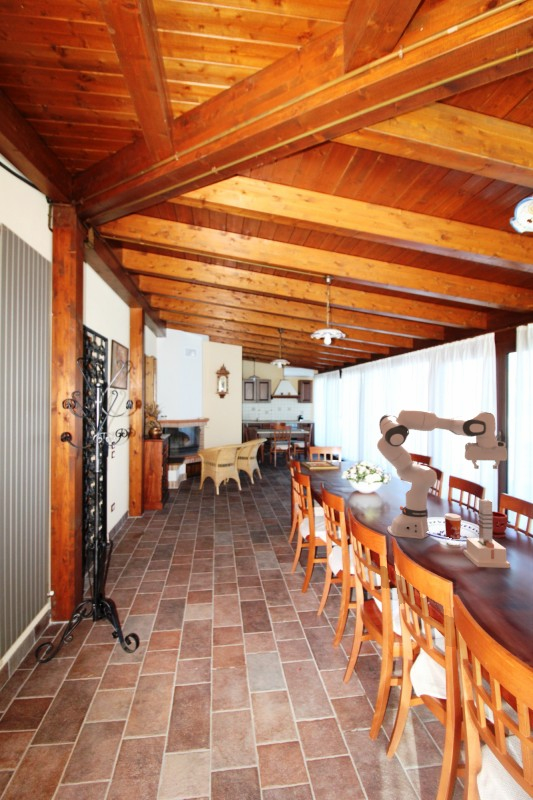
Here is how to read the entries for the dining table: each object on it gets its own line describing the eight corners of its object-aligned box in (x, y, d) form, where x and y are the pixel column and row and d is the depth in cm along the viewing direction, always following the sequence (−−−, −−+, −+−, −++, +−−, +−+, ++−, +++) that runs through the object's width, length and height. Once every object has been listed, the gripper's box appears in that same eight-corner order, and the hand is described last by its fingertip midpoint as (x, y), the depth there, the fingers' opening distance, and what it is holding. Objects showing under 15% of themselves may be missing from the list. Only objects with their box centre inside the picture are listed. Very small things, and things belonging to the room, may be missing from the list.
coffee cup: (455, 548, 185) (454, 518, 185) (440, 542, 192) (440, 514, 192) (465, 545, 189) (465, 516, 189) (451, 539, 196) (450, 512, 196)
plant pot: (512, 540, 195) (512, 517, 195) (485, 538, 198) (485, 516, 198) (501, 531, 208) (501, 510, 208) (476, 529, 211) (476, 509, 211)
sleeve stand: (477, 566, 165) (477, 545, 165) (463, 553, 179) (463, 534, 179) (510, 567, 163) (510, 546, 163) (493, 554, 177) (493, 534, 177)
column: (483, 549, 169) (483, 502, 169) (478, 545, 173) (478, 499, 173) (493, 549, 169) (493, 502, 169) (488, 545, 173) (488, 499, 173)
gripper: (467, 443, 190) (468, 469, 190) (509, 443, 188) (509, 470, 188) (462, 441, 196) (462, 467, 196) (502, 442, 194) (502, 467, 194)
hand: (485, 468), depth 192 cm, fingers open, 8 cm apart
